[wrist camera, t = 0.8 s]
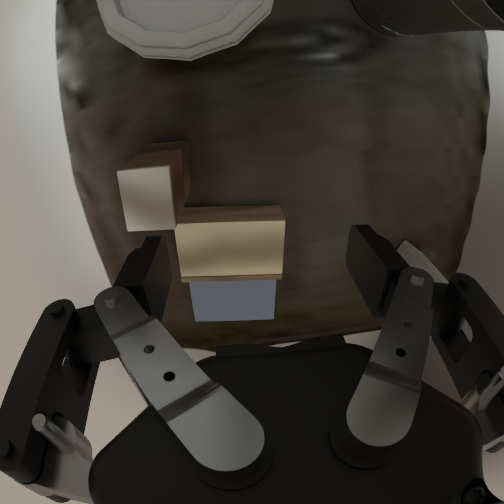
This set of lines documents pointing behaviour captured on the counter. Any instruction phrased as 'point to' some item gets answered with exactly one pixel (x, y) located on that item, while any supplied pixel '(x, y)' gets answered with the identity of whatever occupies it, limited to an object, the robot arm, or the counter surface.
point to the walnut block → (155, 186)
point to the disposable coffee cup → (181, 25)
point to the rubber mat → (233, 300)
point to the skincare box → (419, 261)
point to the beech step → (230, 243)
